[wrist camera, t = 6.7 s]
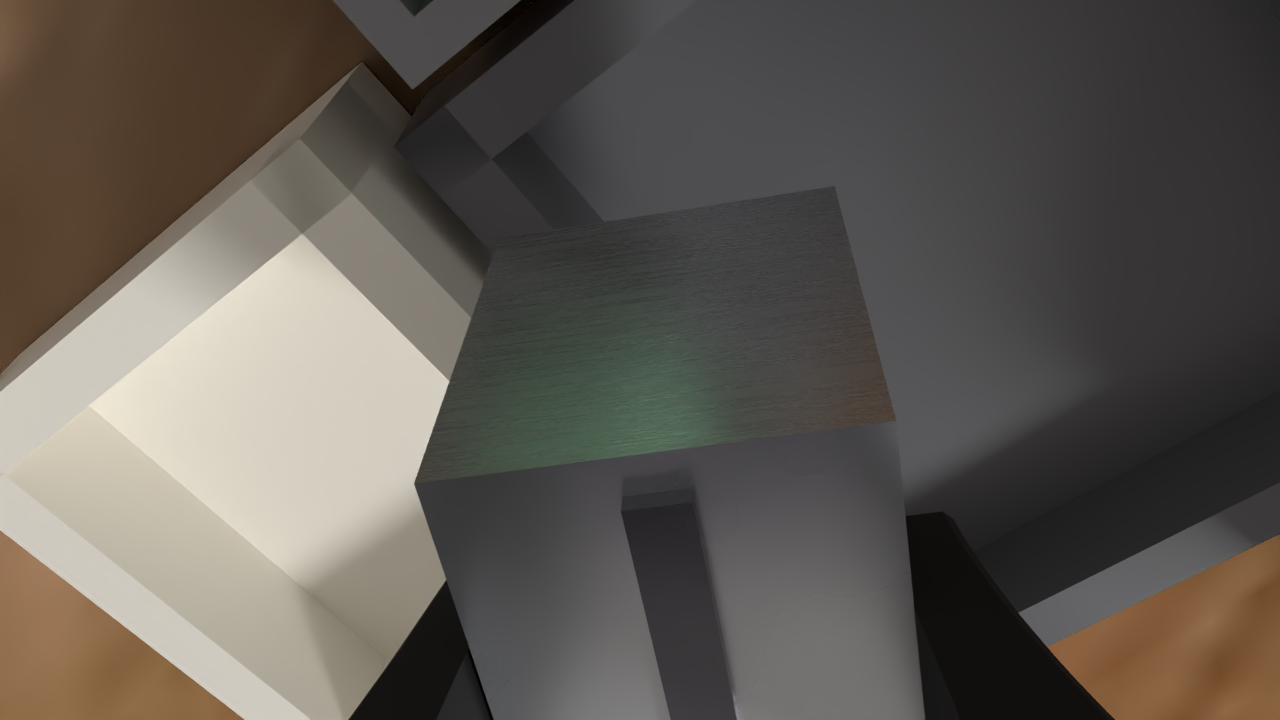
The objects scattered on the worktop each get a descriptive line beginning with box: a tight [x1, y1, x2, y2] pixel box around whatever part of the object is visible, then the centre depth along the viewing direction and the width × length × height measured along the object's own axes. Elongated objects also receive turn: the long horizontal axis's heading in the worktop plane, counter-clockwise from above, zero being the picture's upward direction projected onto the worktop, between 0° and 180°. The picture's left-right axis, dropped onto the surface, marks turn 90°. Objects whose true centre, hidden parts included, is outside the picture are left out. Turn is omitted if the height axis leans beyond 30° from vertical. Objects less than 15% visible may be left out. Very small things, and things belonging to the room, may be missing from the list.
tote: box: [394, 0, 1280, 646], centre depth 19 cm, size 14×12×2 cm
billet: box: [414, 186, 925, 720], centre depth 13 cm, size 4×6×5 cm, turn 11°
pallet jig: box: [0, 62, 493, 720], centre depth 23 cm, size 21×9×4 cm, turn 38°
